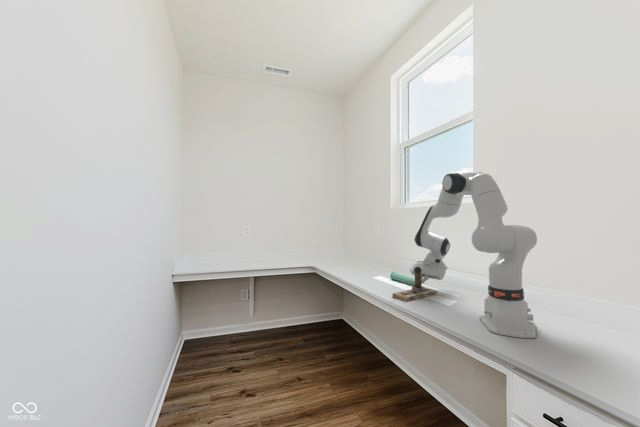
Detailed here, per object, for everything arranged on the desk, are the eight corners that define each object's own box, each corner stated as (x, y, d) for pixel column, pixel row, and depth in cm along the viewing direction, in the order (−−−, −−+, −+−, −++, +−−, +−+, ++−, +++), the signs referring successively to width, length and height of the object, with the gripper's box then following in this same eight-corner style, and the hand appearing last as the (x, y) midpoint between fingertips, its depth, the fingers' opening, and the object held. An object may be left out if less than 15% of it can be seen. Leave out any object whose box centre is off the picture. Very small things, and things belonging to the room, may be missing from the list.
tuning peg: (418, 289, 157) (417, 265, 157) (429, 292, 151) (428, 267, 151) (411, 290, 155) (411, 266, 155) (422, 293, 148) (422, 268, 149)
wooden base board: (422, 290, 163) (422, 286, 163) (437, 294, 155) (437, 290, 155) (392, 297, 151) (392, 292, 151) (407, 301, 142) (407, 297, 142)
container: (422, 277, 172) (395, 269, 195) (415, 281, 170) (389, 274, 193) (424, 285, 173) (398, 277, 196) (418, 290, 171) (391, 281, 194)
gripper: (414, 257, 168) (403, 275, 163) (444, 261, 151) (433, 282, 146) (419, 264, 170) (409, 282, 165) (450, 268, 153) (439, 289, 148)
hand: (420, 282), depth 155 cm, fingers closed, pressing on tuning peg
